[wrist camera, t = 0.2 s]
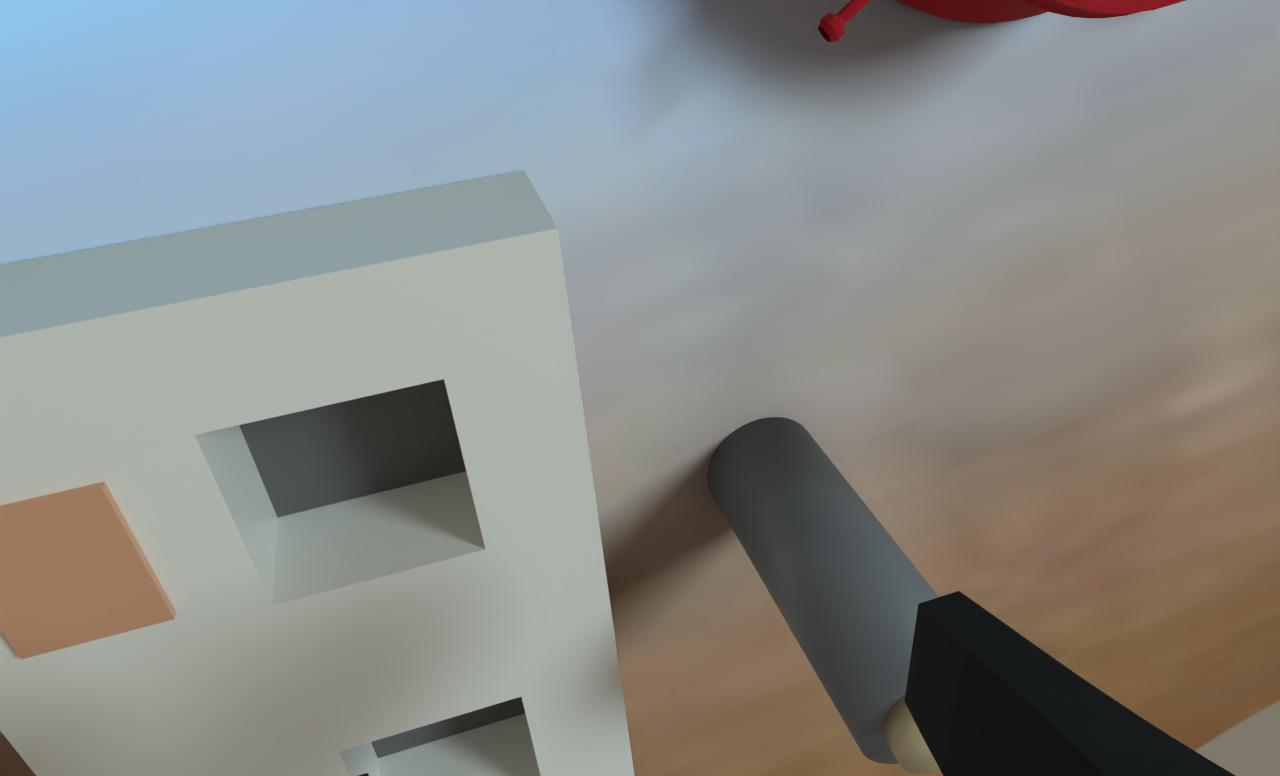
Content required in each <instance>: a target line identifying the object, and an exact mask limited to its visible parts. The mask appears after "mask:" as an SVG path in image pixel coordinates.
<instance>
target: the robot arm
mask: <svg viewBox="0 0 1280 776" xmlns="http://www.w3.org/2000/svg"><path fill="white" fill-rule="evenodd" d="M905 703H906V705H907V707H908V709H909V711H910V713H911V715H912V717H913V719H914V721H915V723H916V725H917V727H918V729H919V731H920V733H921V735H922V737H923V739H924V741H925V743H926V744H927V746H928V748H929V750H930V752H931V754H932V756H933V757H934V759H935V761H936V763H937V765H938V767H939V768H940V770H941V772H942V774H943V775H944V776H1235V775H1233V774H1232V773H1230V772H1228V771H1227V770H1225V769H1223V768H1222V767H1220V766H1218V765H1216V764H1215V763H1213V762H1211V761H1210V760H1208V759H1207V758H1205V757H1203V756H1202V755H1200V754H1198V753H1197V752H1195V751H1194V750H1192V749H1190V748H1189V747H1187V746H1185V745H1184V744H1182V743H1181V742H1179V741H1177V740H1176V739H1174V738H1172V737H1171V736H1169V735H1168V734H1166V733H1164V732H1163V731H1161V730H1160V729H1158V728H1157V727H1155V726H1154V725H1152V724H1150V723H1149V722H1147V721H1146V720H1144V719H1143V718H1141V717H1140V716H1138V715H1137V714H1135V713H1134V712H1132V711H1131V710H1129V709H1128V708H1126V707H1125V706H1123V705H1122V704H1120V703H1119V702H1117V701H1116V700H1114V699H1113V698H1111V697H1110V696H1108V695H1107V694H1105V693H1104V692H1102V691H1101V690H1099V689H1098V688H1096V687H1095V686H1093V685H1092V684H1090V683H1089V682H1087V681H1086V680H1084V679H1083V678H1081V677H1080V676H1078V675H1077V674H1076V673H1074V672H1073V671H1071V670H1070V669H1068V668H1067V667H1065V666H1064V665H1063V664H1061V663H1060V662H1058V661H1057V660H1055V659H1054V658H1053V657H1051V656H1050V655H1048V654H1047V653H1045V652H1044V651H1043V650H1041V649H1040V648H1038V647H1037V646H1036V645H1034V644H1033V643H1031V642H1030V641H1029V640H1027V639H1026V638H1024V637H1023V636H1021V635H1020V634H1019V633H1017V632H1016V631H1014V630H1013V629H1012V628H1010V627H1009V626H1007V625H1006V624H1005V623H1003V622H1002V621H1000V620H999V619H998V618H996V617H995V616H993V615H992V614H991V613H989V612H988V611H986V610H985V609H984V608H982V607H981V606H979V605H978V604H977V603H975V602H974V601H972V600H971V599H969V598H968V597H967V596H965V595H964V594H962V593H961V592H959V591H958V592H955V593H951V594H948V595H945V596H942V597H938V598H935V599H932V600H929V601H925V602H922V603H919V604H918V610H917V617H916V624H915V631H914V638H913V645H912V652H911V659H910V666H909V673H908V680H907V687H906V694H905ZM359 776H369V775H368V773H365V774H362V775H359Z"/></svg>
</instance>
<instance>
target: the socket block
mask: <svg viewBox="0 0 1280 776" xmlns="http://www.w3.org/2000/svg"><path fill="white" fill-rule="evenodd" d="M0 731H1V732H2V734H3V735H4V736H5V737H6V739H7V740H8V741H9V742H10V744H11V745H12V746H13V747H14V749H15V750H16V751H17V752H18V754H19V755H20V756H21V757H22V759H23V760H24V761H25V762H26V764H27V765H28V766H29V767H30V769H31V770H32V771H33V772H34V774H35V775H36V776H359V775H362V774H365V773H368V775H369V776H634V770H633V762H632V755H631V748H630V741H629V734H628V727H627V720H626V712H625V705H624V698H623V691H622V684H621V677H620V670H619V662H618V655H617V648H616V641H615V634H614V627H613V620H612V612H611V605H610V598H609V591H608V584H607V577H606V570H605V562H604V555H603V548H602V541H601V534H600V527H599V520H598V512H597V505H596V498H595V491H594V484H593V477H592V470H591V462H590V455H589V448H588V441H587V434H586V427H585V419H584V412H583V405H582V398H581V391H580V384H579V377H578V369H577V362H576V355H575V348H574V341H573V334H572V327H571V319H570V312H569V305H568V298H567V291H566V284H565V277H564V269H563V262H562V255H561V248H560V241H559V234H558V228H557V226H556V225H555V223H554V221H553V219H552V218H551V216H550V214H549V212H548V211H547V209H546V207H545V206H544V204H543V202H542V200H541V199H540V197H539V195H538V194H537V192H536V190H535V188H534V187H533V185H532V183H531V181H530V180H529V178H528V176H527V175H526V173H525V171H520V172H514V173H509V174H503V175H498V176H492V177H487V178H481V179H476V180H470V181H464V182H459V183H453V184H448V185H442V186H437V187H431V188H426V189H420V190H415V191H409V192H404V193H398V194H392V195H387V196H381V197H376V198H370V199H365V200H359V201H354V202H348V203H343V204H337V205H332V206H326V207H320V208H315V209H309V210H304V211H298V212H293V213H287V214H282V215H276V216H271V217H265V218H259V219H254V220H248V221H243V222H237V223H232V224H226V225H221V226H215V227H210V228H204V229H199V230H193V231H187V232H182V233H176V234H171V235H165V236H160V237H154V238H149V239H143V240H138V241H132V242H127V243H121V244H115V245H110V246H104V247H99V248H93V249H88V250H82V251H77V252H71V253H66V254H60V255H55V256H49V257H43V258H38V259H32V260H27V261H21V262H16V263H10V264H5V265H0Z"/></svg>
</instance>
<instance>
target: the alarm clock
mask: <svg viewBox="0 0 1280 776" xmlns="http://www.w3.org/2000/svg"><path fill="white" fill-rule="evenodd" d="M869 1H870V0H851V1H850V2H849V3H848V4H847V5H846V6H845V7H844V8H843V9H842V10H841V11H840V12H839V13H838V14H835V15H834V14H832V13H828V14H827V15H826V16H824V17H823V18H822V19H821V21H820V24H819V26H818V29H819V31H820V33H821V34H822V36H823V37H824V38H825V39H826V40H827V41H829V42H833V41H837V40H838V39H839V38H840V37H841V36H843V35H844V33H845V29H844V26H845V23H846V22H847V21H848V20H849V19H851V18H852V17H853V16H854V15H855V14H856V13H857V12H858V11H859V10H861V9H862V8H863V7H864V6H865V5H866V4H867V3H868V2H869ZM896 1H898V2H900V3H903V4H905V5H907V6H909V7H911V8H914V9H917V10H920V11H923V12H926V13H929V14H932V15H935V16H938V17H941V18H946V19H950V20H955V21H962V22H973V23H997V22H1005V21H1014V20H1018V19H1023V18H1027V17H1031V16H1035V15H1039V14H1042V13H1045V12H1053V13H1057V14H1062V15H1066V16H1071V17H1081V18H1109V17H1116V16H1124V15H1129V14H1133V13H1137V12H1141V11H1149V10H1155V9H1158V8H1162V7H1165V6H1168V5H1172V4H1175V3H1178V2H1182V1H1185V0H896Z"/></svg>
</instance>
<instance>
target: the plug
mask: <svg viewBox="0 0 1280 776" xmlns="http://www.w3.org/2000/svg"><path fill="white" fill-rule="evenodd" d="M708 485H709V488H710V491H711V492H712V494H713V496H714V498H715V500H716V501H717V503H718V505H719V506H720V508H721V510H722V512H723V513H724V515H725V517H726V519H727V520H728V522H729V524H730V525H731V527H732V529H733V531H734V532H735V534H736V536H737V538H738V539H739V541H740V543H741V544H742V546H743V548H744V550H745V551H746V553H747V555H748V556H749V558H750V560H751V562H752V563H753V565H754V567H755V569H756V570H757V572H758V574H759V575H760V577H761V579H762V581H763V582H764V584H765V586H766V588H767V589H768V591H769V593H770V594H771V596H772V598H773V600H774V601H775V603H776V605H777V606H778V608H779V610H780V612H781V613H782V615H783V617H784V619H785V620H786V622H787V624H788V625H789V627H790V629H791V631H792V632H793V634H794V636H795V638H796V639H797V641H798V643H799V644H800V646H801V648H802V650H803V651H804V653H805V655H806V657H807V658H808V660H809V662H810V663H811V665H812V667H813V669H814V670H815V672H816V674H817V675H818V677H819V679H820V681H821V682H822V684H823V686H824V688H825V689H826V691H827V693H828V694H829V696H830V698H831V700H832V701H833V703H834V705H835V707H836V708H837V710H838V712H839V713H840V715H841V717H842V719H843V720H844V722H845V724H846V726H847V727H848V729H849V731H850V732H851V734H852V736H853V738H854V739H855V741H856V743H857V744H858V746H859V748H860V750H861V751H862V753H863V754H864V755H865V756H866V757H867V758H869V759H870V760H873V761H875V762H879V763H886V764H897V763H899V764H900V765H901V767H902V768H903V769H904V770H906V771H908V772H911V773H917V774H922V773H930V772H934V771H938V770H940V768H939V767H938V765H937V763H936V761H935V759H934V757H933V756H932V754H931V752H930V750H929V748H928V746H927V744H926V743H925V741H924V739H923V737H922V735H921V733H920V731H919V729H918V727H917V725H916V723H915V721H914V719H913V717H912V715H911V713H910V711H909V709H908V707H907V705H906V703H905V694H906V687H907V680H908V673H909V666H910V659H911V652H912V645H913V638H914V631H915V624H916V617H917V610H918V604H919V603H922V602H925V601H929V600H932V599H935V598H938V595H937V594H936V593H935V592H934V590H933V589H932V588H931V586H930V585H929V584H928V583H927V581H926V580H925V579H924V578H923V576H922V575H921V574H920V573H919V571H918V570H917V569H916V568H915V566H914V565H913V564H912V563H911V561H910V560H909V559H908V557H907V556H906V555H905V554H904V552H903V551H902V550H901V549H900V547H899V546H898V545H897V544H896V542H895V541H894V540H893V539H892V537H891V536H890V535H889V534H888V532H887V531H886V530H885V529H884V527H883V526H882V525H881V523H880V522H879V521H878V520H877V518H876V517H875V516H874V515H873V513H872V512H871V511H870V510H869V508H868V507H867V506H866V505H865V503H864V502H863V501H862V500H861V498H860V497H859V496H858V494H857V493H856V492H855V491H854V489H853V488H852V487H851V486H850V484H849V483H848V482H847V481H846V479H845V478H844V477H843V476H842V474H841V473H840V472H839V471H838V469H837V468H836V467H835V465H834V464H833V463H832V462H831V460H830V459H829V458H828V457H827V455H826V454H825V453H824V452H823V450H822V449H821V448H820V447H819V445H818V444H817V443H816V442H815V440H814V439H813V438H812V436H811V435H810V434H809V433H808V431H807V430H806V429H805V428H804V427H803V426H802V425H800V424H799V423H797V422H795V421H793V420H790V419H787V418H780V417H772V418H765V419H760V420H757V421H754V422H751V423H749V424H747V425H745V426H743V427H741V428H740V429H738V430H737V431H735V432H734V433H732V434H731V435H730V436H729V437H728V438H727V439H726V440H725V441H724V442H723V443H722V444H721V445H720V447H719V448H718V449H717V451H716V452H715V454H714V456H713V458H712V460H711V463H710V466H709V470H708Z"/></svg>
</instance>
